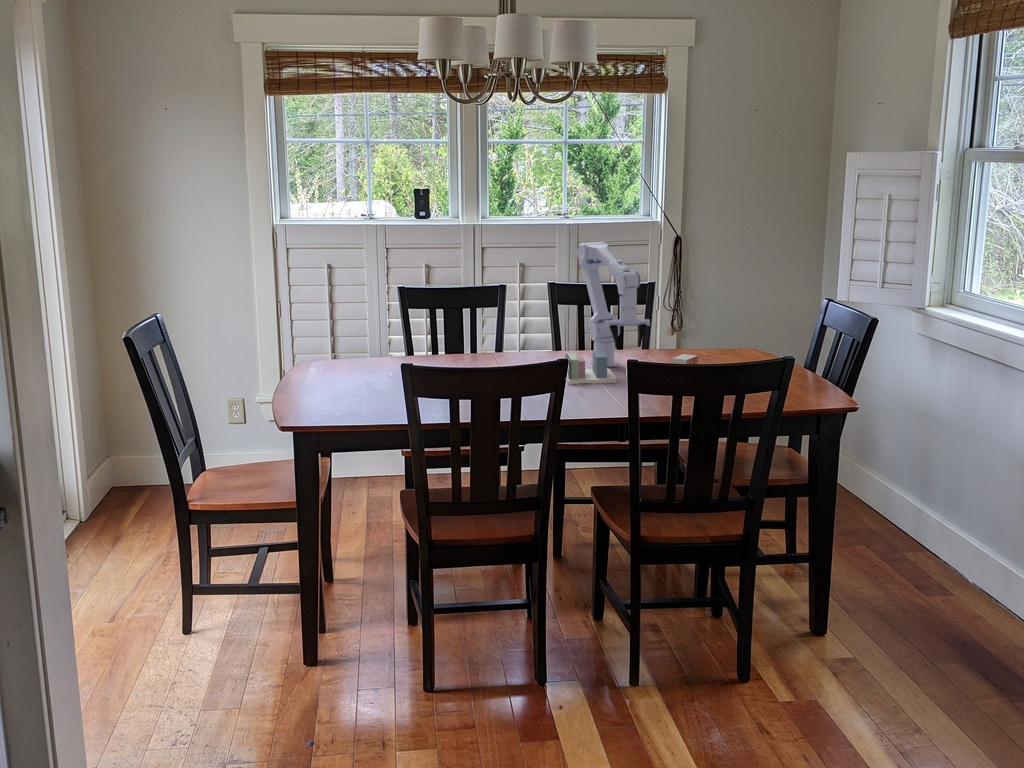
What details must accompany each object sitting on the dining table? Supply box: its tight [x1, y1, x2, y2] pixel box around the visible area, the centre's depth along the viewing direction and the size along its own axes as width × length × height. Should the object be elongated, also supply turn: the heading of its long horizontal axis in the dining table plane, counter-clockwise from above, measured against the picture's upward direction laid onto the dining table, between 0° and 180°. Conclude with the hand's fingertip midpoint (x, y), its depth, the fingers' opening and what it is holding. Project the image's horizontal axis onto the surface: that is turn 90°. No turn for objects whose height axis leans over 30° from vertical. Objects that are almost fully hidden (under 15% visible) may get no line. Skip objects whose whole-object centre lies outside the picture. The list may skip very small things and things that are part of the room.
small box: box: [670, 353, 699, 365], centre depth 314 cm, size 8×6×10 cm
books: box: [566, 352, 586, 379], centre depth 331 cm, size 10×5×6 cm, turn 3°
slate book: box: [591, 350, 608, 378], centre depth 331 cm, size 10×4×7 cm, turn 3°
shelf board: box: [566, 367, 618, 385], centre depth 332 cm, size 16×16×1 cm
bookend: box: [564, 353, 571, 379], centre depth 331 cm, size 12×1×6 cm, turn 3°
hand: (627, 346), depth 335 cm, fingers open, 7 cm apart
